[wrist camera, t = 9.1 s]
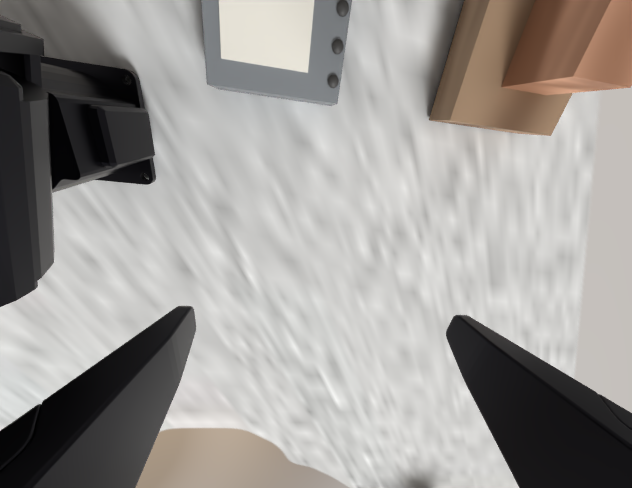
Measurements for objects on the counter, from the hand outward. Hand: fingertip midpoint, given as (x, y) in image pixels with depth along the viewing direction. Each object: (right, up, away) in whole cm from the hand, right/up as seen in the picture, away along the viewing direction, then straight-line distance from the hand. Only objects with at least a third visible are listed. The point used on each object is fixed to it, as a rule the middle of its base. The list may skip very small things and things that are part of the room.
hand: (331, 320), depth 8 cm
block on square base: (+11, +14, +7) cm, 20 cm away
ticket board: (-2, +15, +5) cm, 17 cm away
